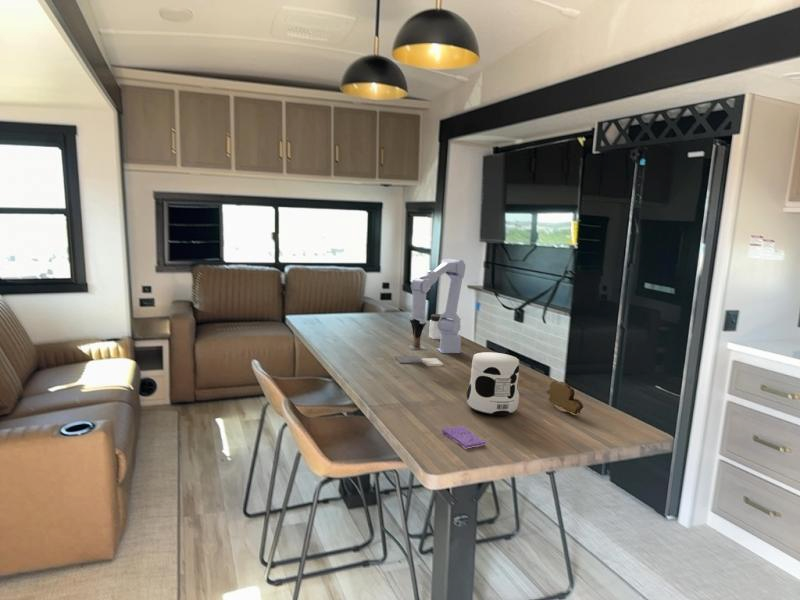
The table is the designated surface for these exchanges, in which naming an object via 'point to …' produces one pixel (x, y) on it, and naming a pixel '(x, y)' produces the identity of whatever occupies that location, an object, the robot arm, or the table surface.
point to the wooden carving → (564, 397)
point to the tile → (432, 362)
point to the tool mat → (408, 360)
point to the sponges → (463, 436)
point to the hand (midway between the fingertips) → (416, 336)
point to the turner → (416, 344)
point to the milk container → (494, 384)
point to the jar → (434, 327)
